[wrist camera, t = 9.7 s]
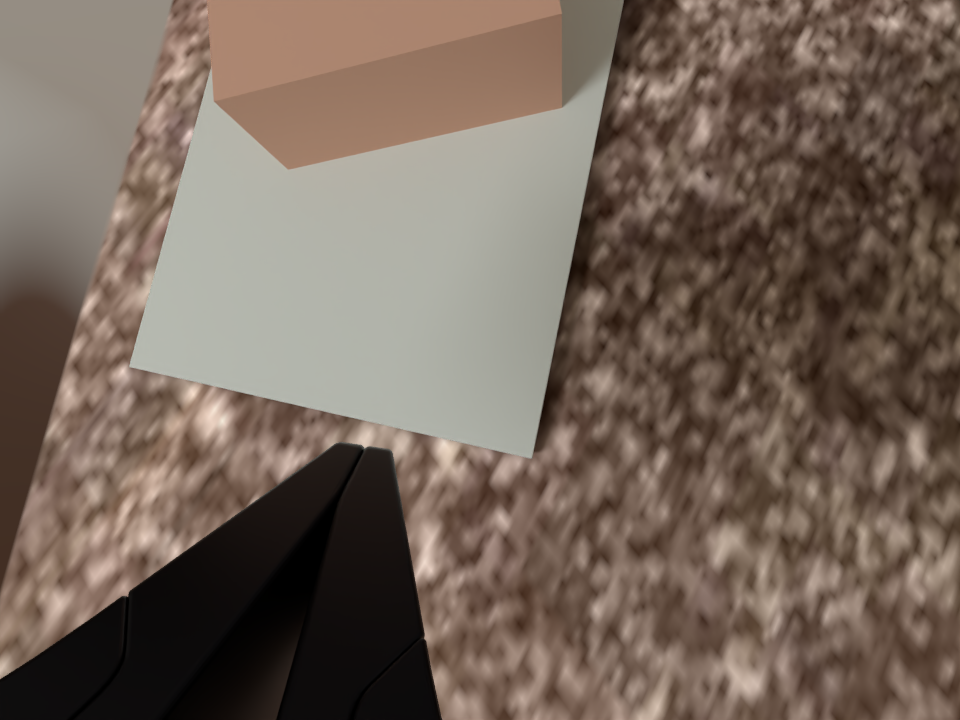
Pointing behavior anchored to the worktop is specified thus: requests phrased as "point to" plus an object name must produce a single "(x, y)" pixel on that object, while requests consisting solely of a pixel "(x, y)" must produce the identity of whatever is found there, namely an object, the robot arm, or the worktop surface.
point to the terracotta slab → (379, 70)
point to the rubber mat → (386, 264)
